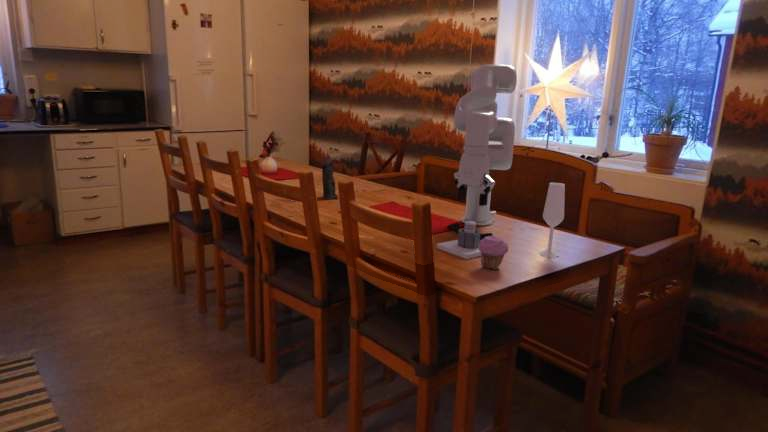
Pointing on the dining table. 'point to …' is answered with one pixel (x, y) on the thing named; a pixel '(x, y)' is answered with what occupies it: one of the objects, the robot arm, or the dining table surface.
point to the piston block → (459, 251)
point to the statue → (328, 179)
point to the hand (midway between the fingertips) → (471, 202)
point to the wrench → (456, 228)
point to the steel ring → (468, 239)
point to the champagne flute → (553, 213)
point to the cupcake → (492, 251)
